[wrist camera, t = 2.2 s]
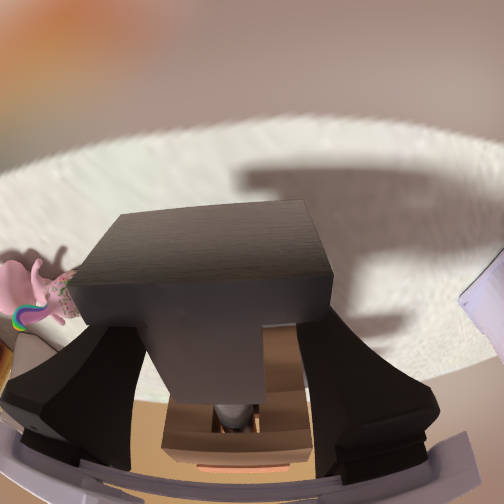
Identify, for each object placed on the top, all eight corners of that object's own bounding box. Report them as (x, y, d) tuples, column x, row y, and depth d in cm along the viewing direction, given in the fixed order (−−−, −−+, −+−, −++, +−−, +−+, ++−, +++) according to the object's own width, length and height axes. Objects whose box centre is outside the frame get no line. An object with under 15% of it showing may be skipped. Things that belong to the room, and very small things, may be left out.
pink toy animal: (105, 240, 18) (-34, 244, 15) (80, 298, 13) (-68, 286, 10) (119, 307, 21) (-11, 299, 18) (107, 367, 16) (-35, 344, 13)
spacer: (283, 401, 20) (288, 470, 15) (206, 403, 20) (201, 471, 15) (283, 392, 19) (289, 466, 14) (203, 394, 20) (196, 466, 14)
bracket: (293, 351, 21) (307, 461, 14) (191, 355, 21) (176, 461, 14) (295, 325, 20) (312, 447, 12) (182, 330, 20) (160, 447, 12)
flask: (47, 373, 26) (22, 438, 18) (8, 334, 23) (-27, 400, 14) (80, 371, 25) (53, 449, 16) (35, 326, 21) (-6, 407, 13)
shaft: (290, 419, 20) (294, 468, 16) (202, 421, 20) (198, 470, 16) (302, 199, 10) (333, 274, 6) (120, 214, 10) (65, 286, 7)
